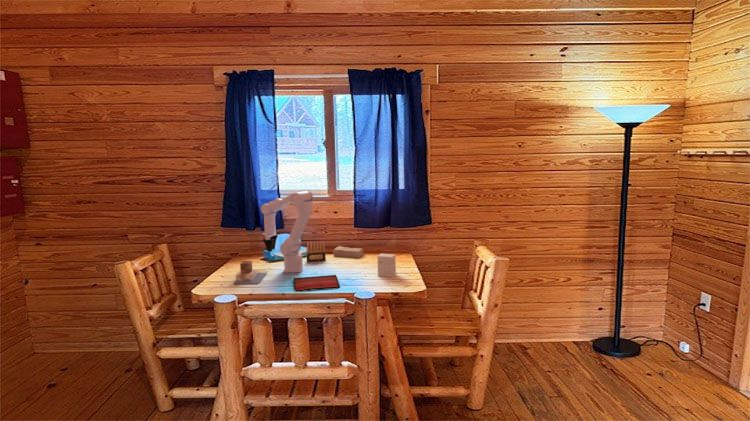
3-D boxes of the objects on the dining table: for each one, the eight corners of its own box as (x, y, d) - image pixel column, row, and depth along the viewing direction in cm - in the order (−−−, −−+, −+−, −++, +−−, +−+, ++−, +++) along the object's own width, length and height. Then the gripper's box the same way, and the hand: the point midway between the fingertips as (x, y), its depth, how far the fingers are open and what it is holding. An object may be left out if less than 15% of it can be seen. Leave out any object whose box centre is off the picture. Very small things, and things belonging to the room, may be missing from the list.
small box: (395, 274, 212) (395, 254, 211) (392, 277, 207) (392, 257, 205) (381, 273, 215) (380, 253, 213) (377, 276, 210) (377, 255, 208)
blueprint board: (266, 273, 215) (266, 267, 215) (258, 284, 200) (258, 276, 199) (243, 274, 215) (242, 267, 215) (233, 284, 199) (233, 277, 199)
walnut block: (252, 270, 209) (251, 261, 208) (249, 273, 205) (249, 263, 204) (243, 270, 209) (242, 261, 208) (240, 273, 205) (240, 263, 204)
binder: (293, 277, 203) (336, 274, 208) (293, 281, 204) (336, 278, 208) (294, 289, 188) (340, 285, 192) (294, 294, 188) (340, 290, 193)
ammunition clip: (325, 259, 241) (324, 239, 239) (325, 260, 239) (325, 240, 237) (306, 261, 238) (305, 240, 236) (307, 262, 236) (306, 241, 235)
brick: (363, 255, 251) (363, 247, 251) (359, 258, 244) (358, 250, 243) (338, 253, 257) (338, 245, 256) (333, 256, 249) (332, 249, 248)
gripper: (265, 223, 232) (266, 246, 234) (259, 228, 218) (260, 253, 220) (278, 222, 232) (279, 246, 234) (272, 227, 218) (273, 253, 220)
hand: (271, 249), depth 227 cm, fingers open, 7 cm apart
